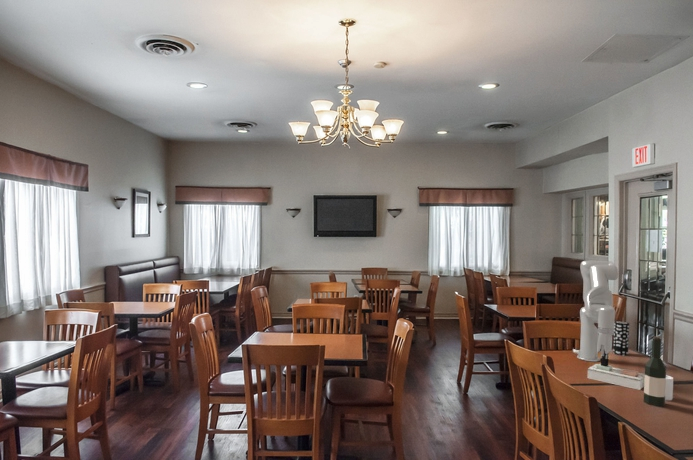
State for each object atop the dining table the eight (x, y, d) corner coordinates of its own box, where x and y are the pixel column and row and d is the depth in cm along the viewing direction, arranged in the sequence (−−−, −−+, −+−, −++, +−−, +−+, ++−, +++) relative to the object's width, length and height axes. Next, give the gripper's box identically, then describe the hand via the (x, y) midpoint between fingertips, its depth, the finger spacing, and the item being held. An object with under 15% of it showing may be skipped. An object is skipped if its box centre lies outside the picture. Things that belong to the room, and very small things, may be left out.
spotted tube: (624, 352, 310) (625, 321, 310) (630, 356, 302) (631, 324, 302) (610, 351, 311) (611, 320, 311) (616, 355, 303) (617, 323, 302)
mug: (674, 401, 221) (675, 380, 221) (652, 398, 225) (653, 377, 224) (668, 393, 232) (669, 373, 232) (647, 390, 236) (648, 370, 236)
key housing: (587, 378, 253) (587, 368, 253) (595, 372, 263) (596, 363, 263) (639, 390, 236) (640, 379, 236) (646, 383, 246) (646, 374, 246)
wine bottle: (662, 401, 221) (664, 336, 221) (667, 407, 213) (670, 340, 213) (641, 398, 224) (644, 334, 223) (645, 404, 216) (648, 337, 215)
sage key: (596, 371, 253) (596, 365, 253) (599, 369, 258) (599, 363, 258) (608, 373, 249) (609, 368, 249) (612, 371, 254) (612, 365, 254)
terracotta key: (621, 376, 245) (622, 370, 245) (624, 374, 250) (625, 368, 250) (635, 379, 241) (635, 373, 241) (638, 377, 245) (638, 371, 245)
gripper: (602, 327, 261) (600, 361, 261) (593, 331, 250) (592, 366, 251) (617, 330, 256) (616, 364, 256) (609, 334, 245) (608, 370, 245)
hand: (604, 365), depth 253 cm, fingers closed
